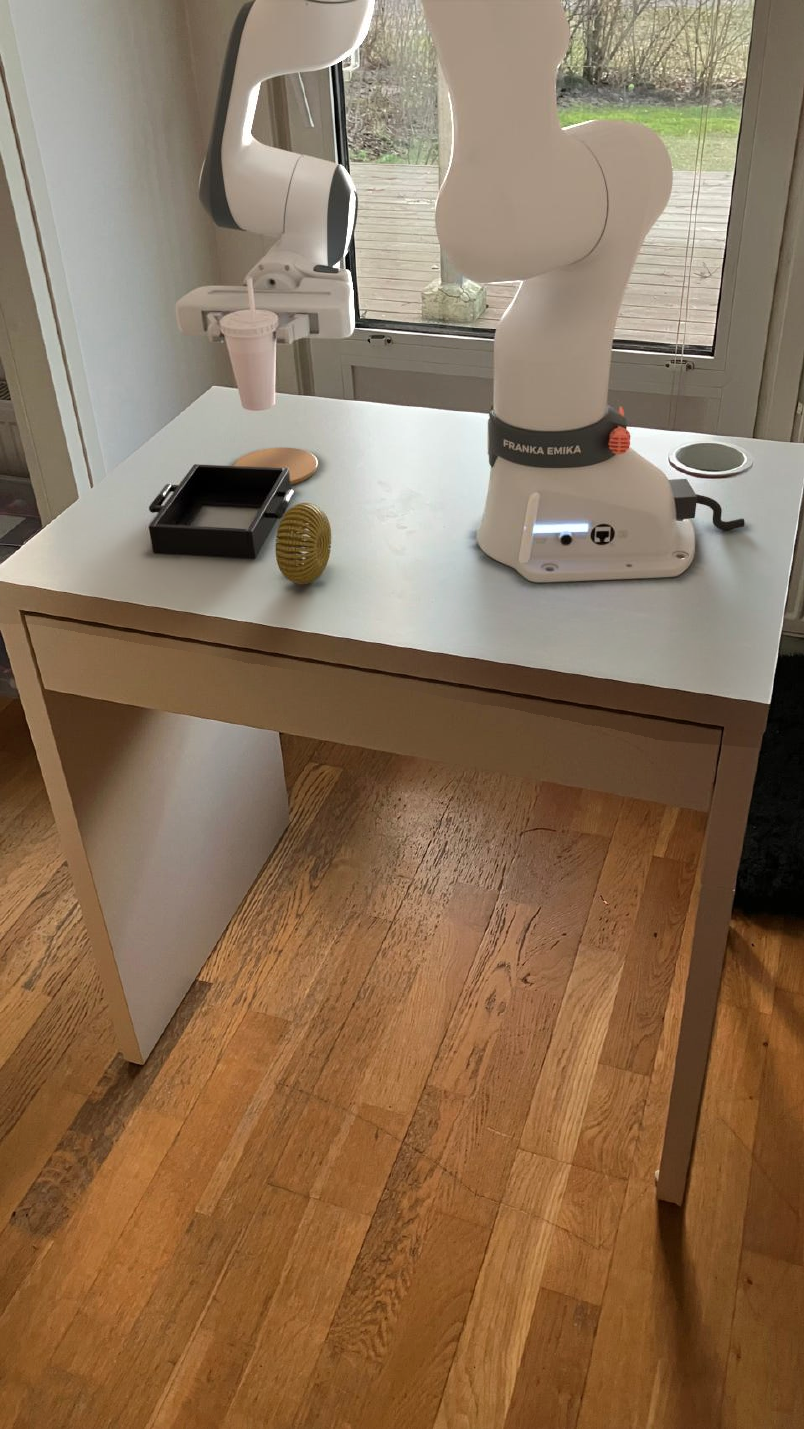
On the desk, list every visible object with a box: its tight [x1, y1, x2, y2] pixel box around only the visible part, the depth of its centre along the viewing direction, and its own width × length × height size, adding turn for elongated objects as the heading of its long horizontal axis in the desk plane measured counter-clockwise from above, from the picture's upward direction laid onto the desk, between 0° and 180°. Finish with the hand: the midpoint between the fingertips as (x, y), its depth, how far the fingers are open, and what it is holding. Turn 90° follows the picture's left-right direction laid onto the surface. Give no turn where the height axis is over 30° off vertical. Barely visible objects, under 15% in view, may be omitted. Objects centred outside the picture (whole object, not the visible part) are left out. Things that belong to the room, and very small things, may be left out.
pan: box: [148, 463, 295, 560], centre depth 129 cm, size 15×15×3 cm
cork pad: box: [233, 447, 319, 485], centre depth 141 cm, size 10×10×1 cm
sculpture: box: [275, 502, 332, 585], centre depth 117 cm, size 8×4×8 cm, turn 162°
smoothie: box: [220, 277, 279, 412], centre depth 129 cm, size 6×6×14 cm
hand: (248, 337), depth 128 cm, fingers closed on smoothie, 6 cm apart
